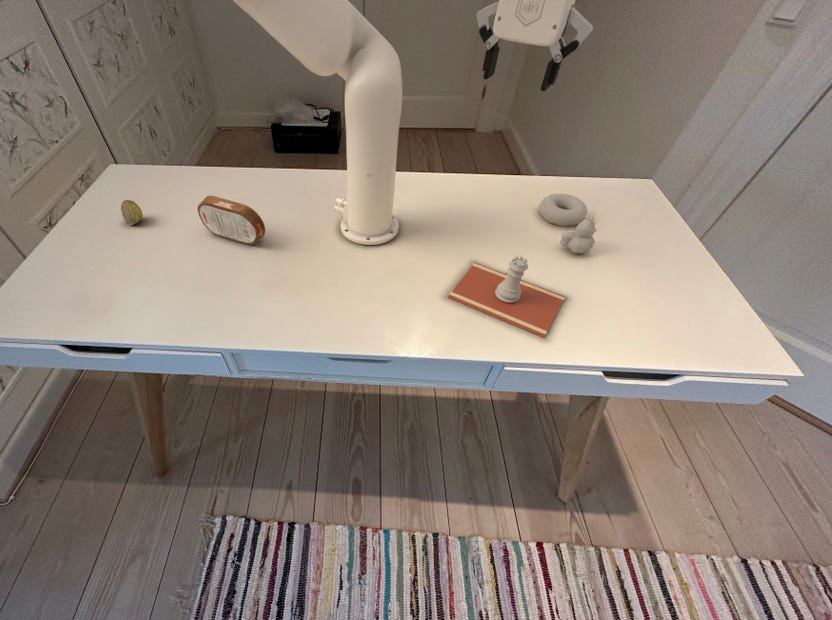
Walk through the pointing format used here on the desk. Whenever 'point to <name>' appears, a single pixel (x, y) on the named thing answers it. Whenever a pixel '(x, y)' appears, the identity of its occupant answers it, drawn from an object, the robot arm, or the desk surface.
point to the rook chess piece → (512, 281)
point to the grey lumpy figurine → (580, 237)
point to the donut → (563, 209)
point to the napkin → (525, 313)
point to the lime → (131, 212)
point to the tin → (231, 220)
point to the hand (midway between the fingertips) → (516, 82)
